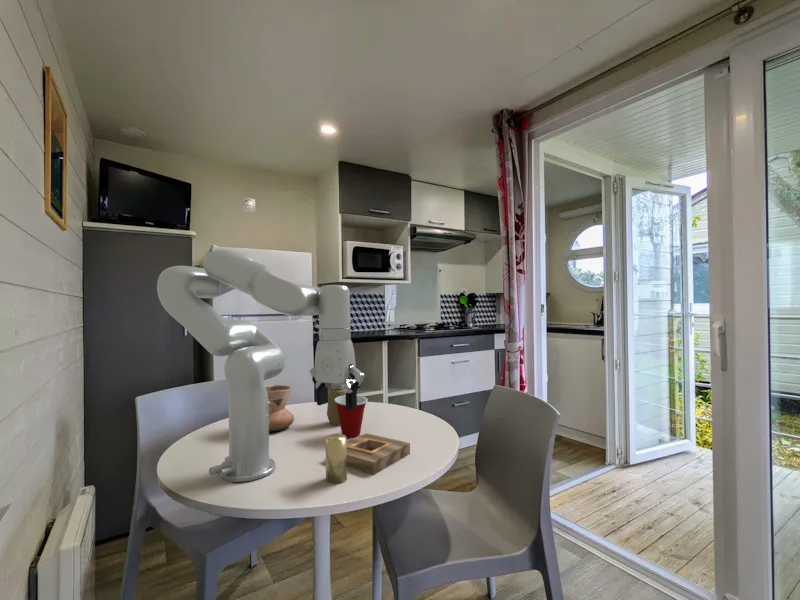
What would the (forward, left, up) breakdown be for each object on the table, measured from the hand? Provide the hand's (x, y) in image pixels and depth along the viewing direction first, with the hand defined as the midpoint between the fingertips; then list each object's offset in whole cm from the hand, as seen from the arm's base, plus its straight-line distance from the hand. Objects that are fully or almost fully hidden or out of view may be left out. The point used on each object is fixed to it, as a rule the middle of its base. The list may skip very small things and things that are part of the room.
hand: (336, 406), depth 90 cm
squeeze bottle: (+33, +32, -18) cm, 49 cm away
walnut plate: (+15, +2, -17) cm, 23 cm away
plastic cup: (+26, +19, -18) cm, 37 cm away
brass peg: (0, 0, -17) cm, 17 cm away
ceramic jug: (+17, +48, -18) cm, 54 cm away
